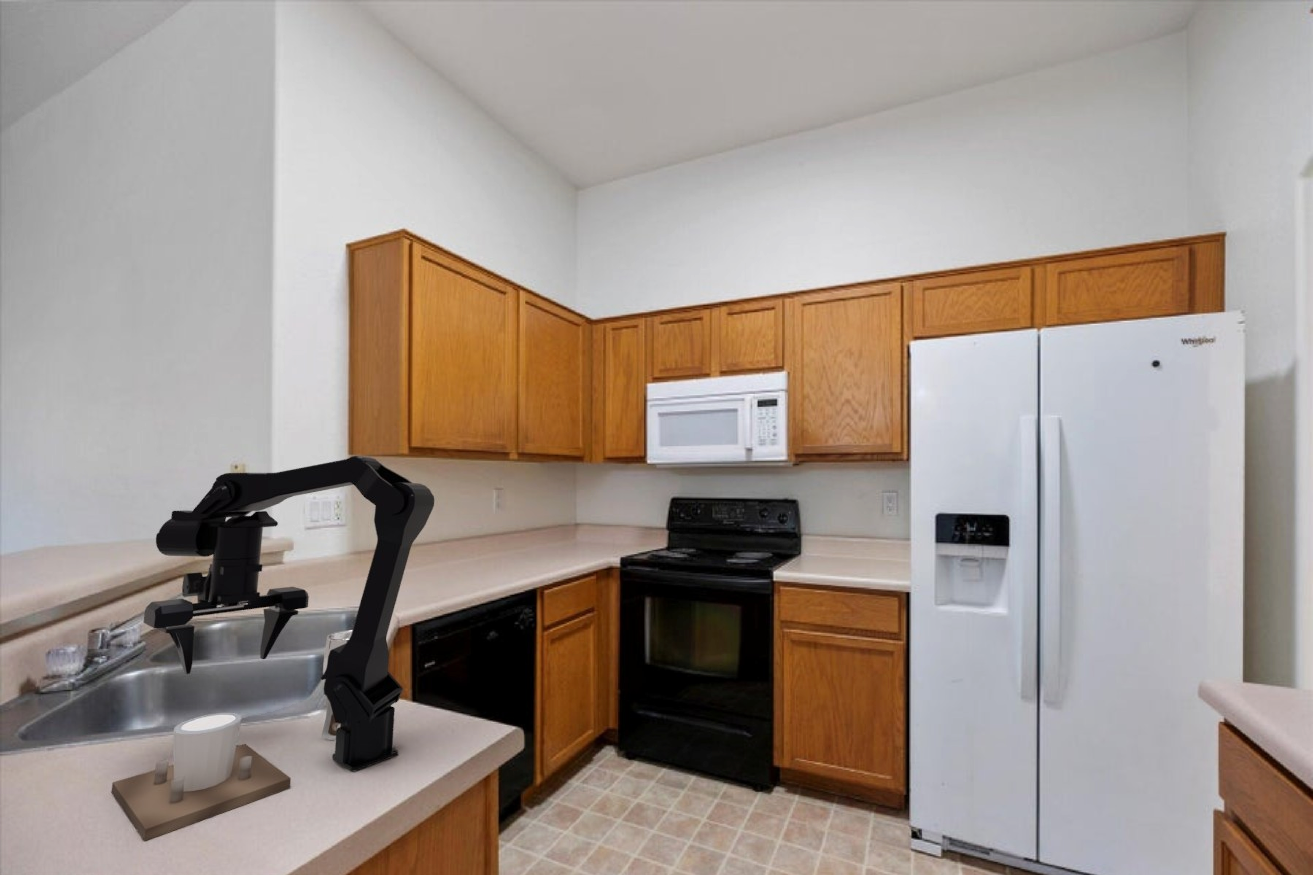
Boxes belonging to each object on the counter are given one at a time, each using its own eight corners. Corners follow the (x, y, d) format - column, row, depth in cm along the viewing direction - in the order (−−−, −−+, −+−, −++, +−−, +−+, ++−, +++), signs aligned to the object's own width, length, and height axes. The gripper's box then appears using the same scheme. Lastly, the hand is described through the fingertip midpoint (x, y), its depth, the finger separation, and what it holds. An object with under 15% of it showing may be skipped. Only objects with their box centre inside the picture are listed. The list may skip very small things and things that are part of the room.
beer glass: (323, 746, 83) (330, 642, 85) (313, 731, 88) (321, 633, 90) (374, 733, 88) (380, 634, 89) (362, 719, 93) (368, 626, 95)
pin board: (244, 752, 81) (246, 726, 81) (289, 787, 71) (292, 758, 72) (111, 792, 70) (114, 761, 70) (144, 840, 60) (148, 805, 61)
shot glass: (248, 774, 72) (253, 717, 73) (185, 799, 66) (191, 737, 67) (219, 762, 75) (224, 708, 76) (155, 785, 69) (162, 726, 70)
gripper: (284, 549, 96) (276, 643, 94) (139, 558, 81) (127, 670, 79) (313, 554, 89) (305, 655, 88) (161, 564, 74) (148, 687, 73)
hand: (226, 665), depth 82 cm, fingers open, 9 cm apart
